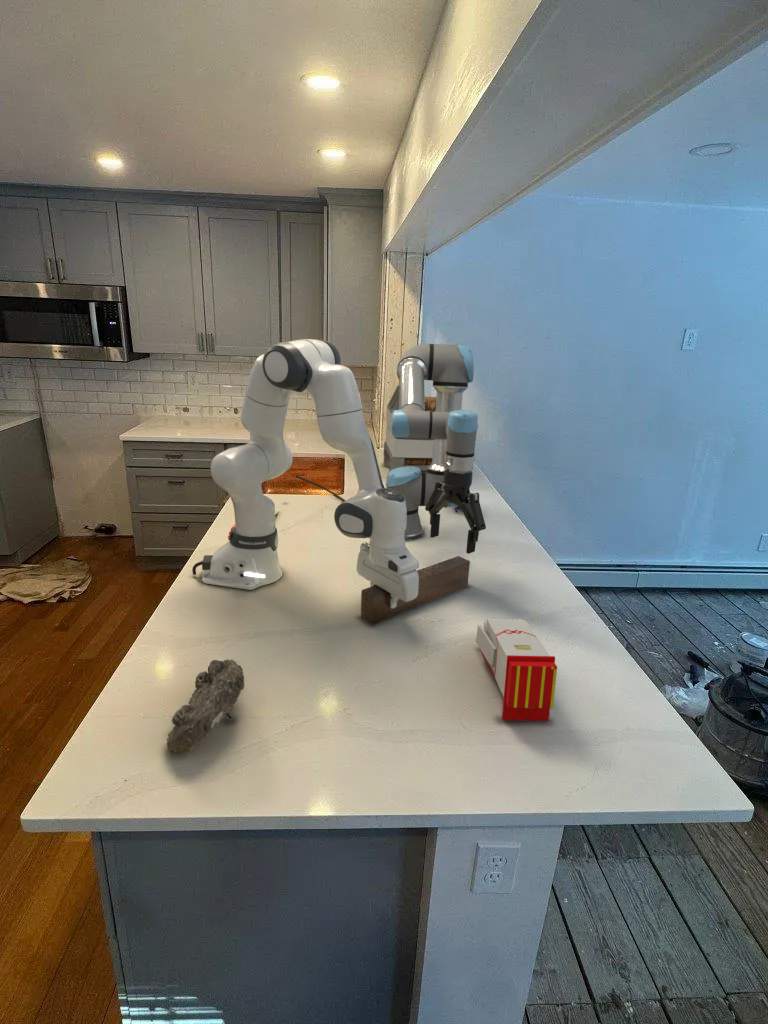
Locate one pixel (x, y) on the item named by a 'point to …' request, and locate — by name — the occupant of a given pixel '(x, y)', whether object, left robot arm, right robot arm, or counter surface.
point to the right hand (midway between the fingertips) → (451, 544)
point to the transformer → (406, 440)
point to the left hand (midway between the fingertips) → (384, 602)
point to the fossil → (206, 705)
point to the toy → (519, 668)
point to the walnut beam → (431, 587)
